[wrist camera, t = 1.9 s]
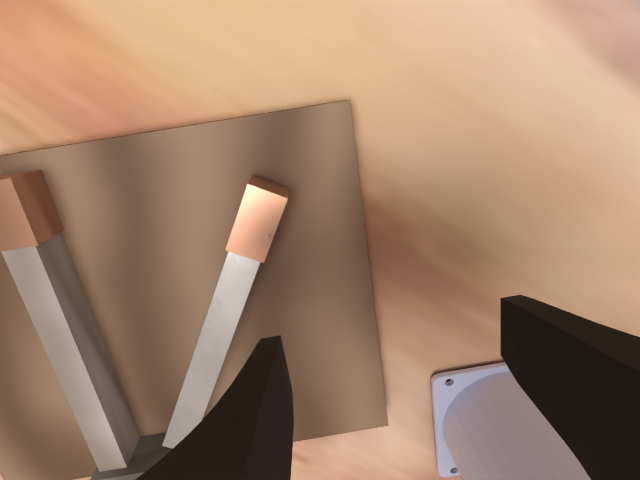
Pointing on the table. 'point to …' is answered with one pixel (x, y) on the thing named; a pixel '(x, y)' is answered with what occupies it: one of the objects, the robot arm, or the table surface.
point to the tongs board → (176, 286)
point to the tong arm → (228, 300)
